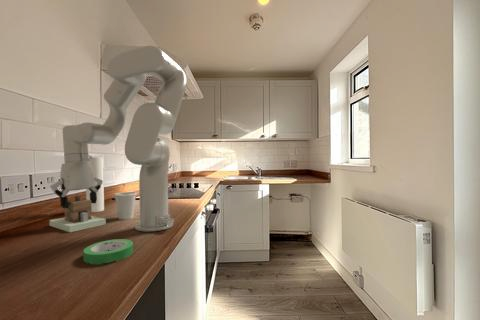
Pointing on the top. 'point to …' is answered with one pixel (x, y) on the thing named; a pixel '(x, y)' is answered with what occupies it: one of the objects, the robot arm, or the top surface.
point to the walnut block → (77, 209)
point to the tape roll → (118, 247)
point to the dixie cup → (125, 204)
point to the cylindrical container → (98, 173)
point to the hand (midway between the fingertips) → (79, 205)
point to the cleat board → (77, 223)
